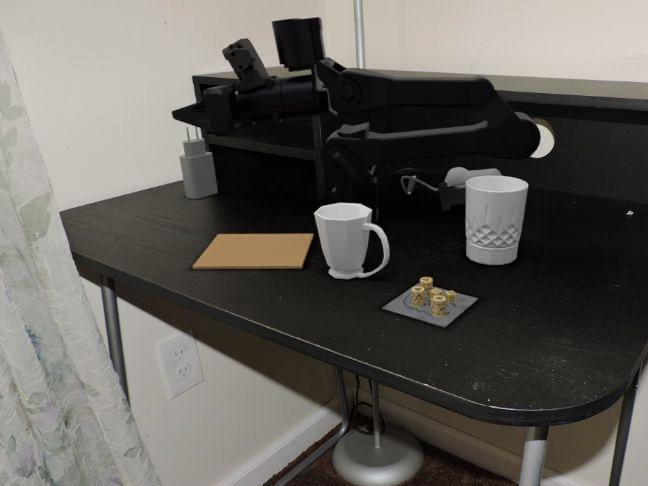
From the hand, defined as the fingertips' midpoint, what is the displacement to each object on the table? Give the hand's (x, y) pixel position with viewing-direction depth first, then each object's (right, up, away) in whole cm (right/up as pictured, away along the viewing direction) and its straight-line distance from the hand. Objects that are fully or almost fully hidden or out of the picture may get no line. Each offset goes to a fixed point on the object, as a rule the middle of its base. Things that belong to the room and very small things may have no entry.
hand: (185, 110), depth 85 cm
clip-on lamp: (+40, -11, +15) cm, 44 cm away
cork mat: (+12, -22, -7) cm, 26 cm away
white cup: (+44, -23, -8) cm, 50 cm away
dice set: (+36, -29, -21) cm, 50 cm away
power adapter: (-4, -9, +18) cm, 21 cm away
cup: (+26, -25, -14) cm, 39 cm away
